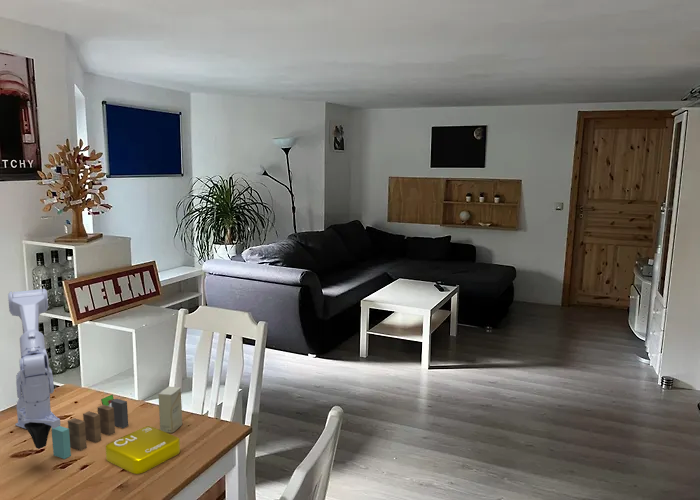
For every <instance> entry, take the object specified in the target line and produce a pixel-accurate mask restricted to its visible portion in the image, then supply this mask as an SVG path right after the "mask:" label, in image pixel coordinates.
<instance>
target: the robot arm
mask: <svg viewBox="0 0 700 500" xmlns="http://www.w3.org/2000/svg"><path fill="white" fill-rule="evenodd" d="M48 298H49V296H48V291H47V289H46V288H41V289H40V288H39V289H29V290H18V291H9V293H8V294H7V299H8V300H7V301H8V309H9V311H8V312H9V313H10V315H11V316H15V317H19V319H20V321H21V325H22V327H21V328H22V334H21V335H20V337H19V347H20V358H19V360H18V363H19V371H18V372H17V374H16V376H15V378H16V380H15V384H16V395H17V402H16V414H17V422H16V423H15V424H14V425H15V426H17V427H18V428H22V429H26V430H27V432H28V433H29V435H30V437H31V440H32V441H33V444H34V447H35V449H38V450H40V449H42V448H45V447H46V446H47V442H48V438H49V434H50V432H51V430H52V429H51V428H56V427H58V426H61V419H60V418H59V417H57V416H56V415H55V413H53V412H52V409H51V399H50V397H51V394H53V393H54V392H55V383H54V375H53V370H52V368H51V367H50V361H49V355H48V353H47V349H46V344H45V335H44V334H43V332H41V331H39V330H40V328H39V323H40V322H39V318H40V315H41V314H44V313H46V312H47V310H48V308H49V299H48Z"/></svg>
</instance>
